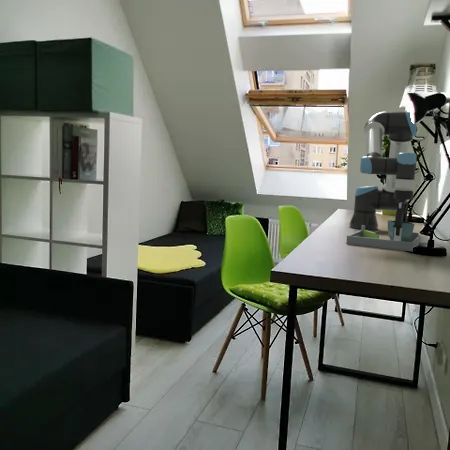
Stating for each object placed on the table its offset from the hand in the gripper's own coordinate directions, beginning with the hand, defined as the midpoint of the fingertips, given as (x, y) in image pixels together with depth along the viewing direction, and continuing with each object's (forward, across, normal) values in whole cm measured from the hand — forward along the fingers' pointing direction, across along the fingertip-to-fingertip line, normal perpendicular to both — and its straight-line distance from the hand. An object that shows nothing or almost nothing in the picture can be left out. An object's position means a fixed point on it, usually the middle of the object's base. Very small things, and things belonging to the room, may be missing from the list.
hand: (399, 241), depth 202 cm
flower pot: (+1, 0, 0) cm, 1 cm away
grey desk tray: (+2, -1, -7) cm, 7 cm away
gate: (+2, -6, -13) cm, 14 cm away
